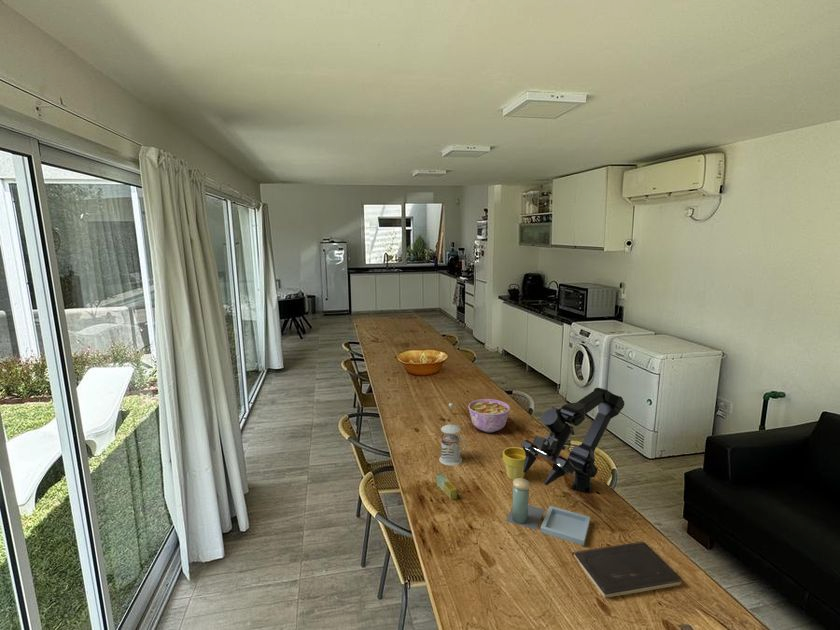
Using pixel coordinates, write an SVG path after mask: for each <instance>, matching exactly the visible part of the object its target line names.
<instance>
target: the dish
mask: <svg viewBox="0 0 840 630" xmlns="http://www.w3.org/2000/svg"><path fill="white" fill-rule="evenodd" d="M590 523H591V516H588V515H585V514H581V513H579V512H578V513H577V512H574V511H570V510H567V509H563V508H559V507H556V506H552V505H549V506H548V509H547V511H546V514H545V516H544V519H543V521H542V523H541V526H540V531H539V532H540V533H541V534H544V535H547V536H551V537H553V538H557V539H561V540H564V541H568V542H570V543H573V544H576V545H580V546H581V547H583V548H584V547H585V544H586V539H587V535H588V533H589V527H590Z"/></svg>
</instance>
